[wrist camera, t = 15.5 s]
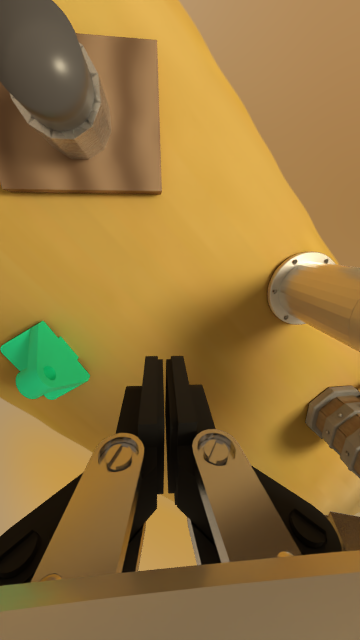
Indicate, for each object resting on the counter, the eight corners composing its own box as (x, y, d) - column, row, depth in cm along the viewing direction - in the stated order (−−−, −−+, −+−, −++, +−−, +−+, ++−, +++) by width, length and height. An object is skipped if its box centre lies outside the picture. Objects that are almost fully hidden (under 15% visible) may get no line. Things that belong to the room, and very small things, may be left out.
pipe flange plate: (156, 53, 27) (158, -18, 20) (161, 193, 32) (163, 179, 25) (-24, 40, 25) (-99, -46, 18) (11, 192, 30) (-36, 175, 23)
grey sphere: (96, 63, 23) (74, -8, 17) (104, 144, 25) (87, 111, 19) (23, 57, 22) (-30, -19, 16) (39, 142, 25) (-2, 106, 18)
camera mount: (7, 341, 37) (-44, 376, 27) (46, 318, 36) (7, 346, 27) (56, 392, 41) (27, 438, 31) (91, 372, 40) (73, 413, 31)
